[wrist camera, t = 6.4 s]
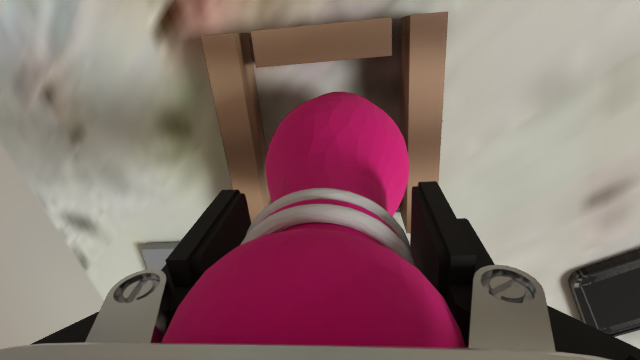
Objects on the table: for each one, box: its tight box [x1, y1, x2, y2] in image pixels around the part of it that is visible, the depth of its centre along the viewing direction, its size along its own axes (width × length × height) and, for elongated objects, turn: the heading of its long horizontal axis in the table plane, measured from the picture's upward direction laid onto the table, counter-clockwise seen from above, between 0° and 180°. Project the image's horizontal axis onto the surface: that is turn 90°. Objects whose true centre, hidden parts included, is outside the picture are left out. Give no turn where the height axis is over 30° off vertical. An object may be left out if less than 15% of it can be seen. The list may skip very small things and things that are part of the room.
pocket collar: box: [201, 12, 448, 233], centre depth 23 cm, size 14×14×3 cm
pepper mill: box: [162, 92, 466, 348], centre depth 12 cm, size 7×7×20 cm
